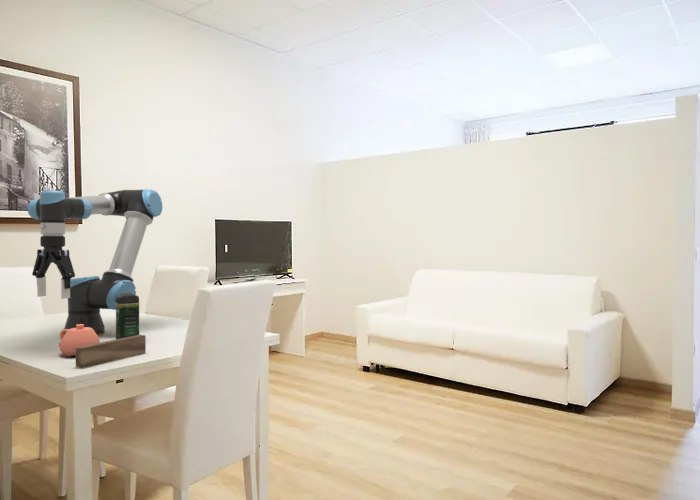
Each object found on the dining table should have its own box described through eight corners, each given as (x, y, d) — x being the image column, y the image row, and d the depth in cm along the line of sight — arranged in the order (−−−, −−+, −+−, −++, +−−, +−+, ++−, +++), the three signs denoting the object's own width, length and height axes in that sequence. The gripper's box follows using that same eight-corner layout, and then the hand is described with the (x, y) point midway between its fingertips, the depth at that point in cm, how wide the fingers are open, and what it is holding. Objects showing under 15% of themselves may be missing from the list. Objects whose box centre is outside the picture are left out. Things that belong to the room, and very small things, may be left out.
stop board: (75, 367, 164) (75, 347, 164) (139, 352, 185) (139, 334, 185) (82, 368, 162) (82, 348, 162) (145, 352, 184) (145, 335, 184)
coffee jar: (141, 343, 200) (141, 293, 200) (118, 345, 196) (118, 294, 195) (136, 339, 208) (135, 291, 208) (114, 341, 204) (113, 292, 203)
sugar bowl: (84, 359, 174) (84, 327, 174) (46, 357, 177) (46, 326, 176) (108, 351, 186) (107, 322, 186) (71, 349, 189) (71, 320, 189)
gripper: (20, 235, 189) (21, 296, 189) (65, 235, 178) (66, 300, 178) (41, 235, 195) (41, 294, 196) (86, 235, 184) (86, 298, 185)
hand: (53, 297), depth 187 cm, fingers open, 12 cm apart
